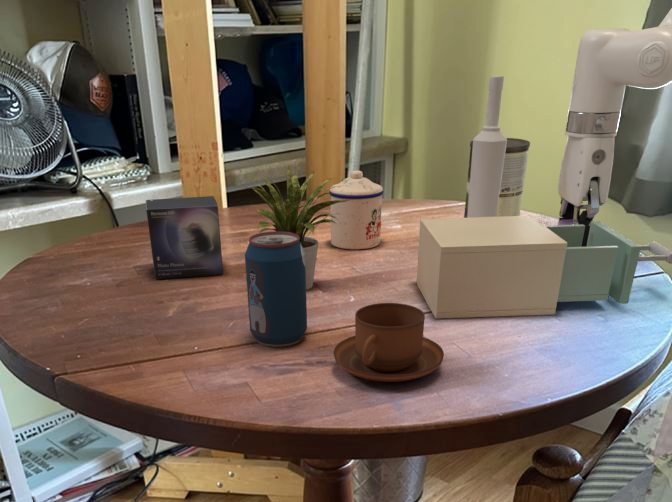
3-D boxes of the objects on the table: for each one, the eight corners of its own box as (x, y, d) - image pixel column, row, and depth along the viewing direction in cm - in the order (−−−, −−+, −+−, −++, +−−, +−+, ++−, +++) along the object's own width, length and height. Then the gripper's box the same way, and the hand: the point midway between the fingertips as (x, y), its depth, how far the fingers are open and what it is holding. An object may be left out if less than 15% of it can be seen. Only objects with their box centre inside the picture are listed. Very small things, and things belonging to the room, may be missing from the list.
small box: (154, 281, 106) (144, 208, 100) (154, 268, 111) (144, 199, 106) (224, 275, 108) (218, 203, 102) (220, 263, 113) (214, 194, 107)
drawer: (637, 271, 102) (650, 219, 98) (682, 301, 91) (698, 244, 87) (490, 276, 102) (496, 224, 98) (517, 307, 90) (525, 250, 86)
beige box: (521, 280, 103) (531, 215, 98) (555, 314, 91) (567, 242, 86) (416, 283, 102) (420, 219, 97) (435, 318, 90) (441, 246, 85)
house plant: (292, 312, 93) (287, 181, 84) (223, 291, 101) (212, 169, 92) (360, 286, 102) (362, 164, 93) (291, 268, 110) (287, 155, 101)
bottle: (500, 247, 118) (522, 76, 104) (478, 252, 115) (497, 78, 102) (478, 241, 121) (496, 74, 108) (456, 246, 119) (471, 76, 105)
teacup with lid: (376, 251, 117) (378, 177, 111) (323, 249, 119) (322, 175, 113) (388, 234, 127) (391, 164, 120) (339, 231, 129) (340, 163, 122)
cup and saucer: (441, 395, 72) (446, 338, 68) (325, 388, 74) (325, 332, 70) (443, 349, 82) (448, 297, 78) (341, 344, 83) (341, 294, 80)
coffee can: (451, 224, 131) (458, 142, 124) (484, 215, 137) (492, 136, 129) (497, 234, 125) (507, 147, 117) (530, 223, 131) (541, 140, 123)
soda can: (313, 329, 88) (310, 231, 81) (299, 351, 82) (296, 246, 76) (260, 326, 89) (253, 229, 83) (243, 346, 83) (235, 244, 77)
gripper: (640, 130, 100) (612, 259, 110) (595, 117, 114) (574, 232, 124) (588, 132, 100) (565, 261, 110) (549, 118, 114) (532, 234, 124)
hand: (570, 244), depth 117 cm, fingers open, 4 cm apart
